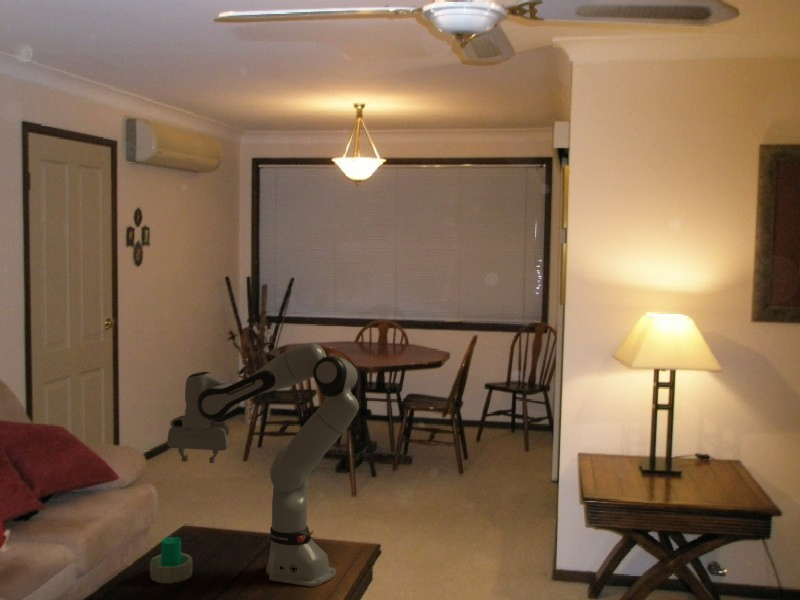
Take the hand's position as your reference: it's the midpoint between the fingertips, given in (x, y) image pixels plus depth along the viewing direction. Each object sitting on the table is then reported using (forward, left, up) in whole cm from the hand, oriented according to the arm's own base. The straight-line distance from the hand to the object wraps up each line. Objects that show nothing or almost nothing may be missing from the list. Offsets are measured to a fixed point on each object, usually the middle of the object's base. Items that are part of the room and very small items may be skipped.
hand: (198, 462), depth 281 cm
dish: (-5, +18, -31) cm, 36 cm away
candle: (-5, +18, -30) cm, 36 cm away
